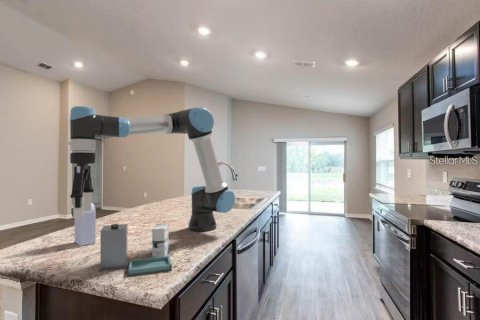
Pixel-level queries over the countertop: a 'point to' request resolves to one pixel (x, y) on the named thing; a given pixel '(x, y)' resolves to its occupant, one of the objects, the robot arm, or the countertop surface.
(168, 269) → the tray
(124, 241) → the unit
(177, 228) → the countertop surface
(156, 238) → the ink box
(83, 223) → the soap bottle
